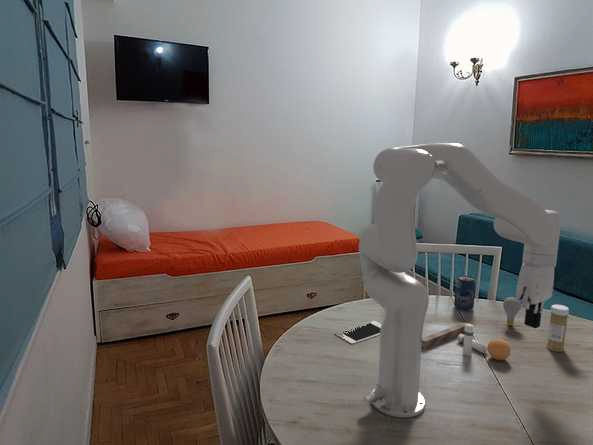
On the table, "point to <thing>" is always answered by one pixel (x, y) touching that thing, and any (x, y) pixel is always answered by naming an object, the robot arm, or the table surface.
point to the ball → (498, 349)
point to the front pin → (474, 344)
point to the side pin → (468, 339)
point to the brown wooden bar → (443, 336)
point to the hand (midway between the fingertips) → (532, 325)
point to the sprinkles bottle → (557, 328)
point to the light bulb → (511, 309)
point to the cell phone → (363, 332)
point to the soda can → (464, 293)
